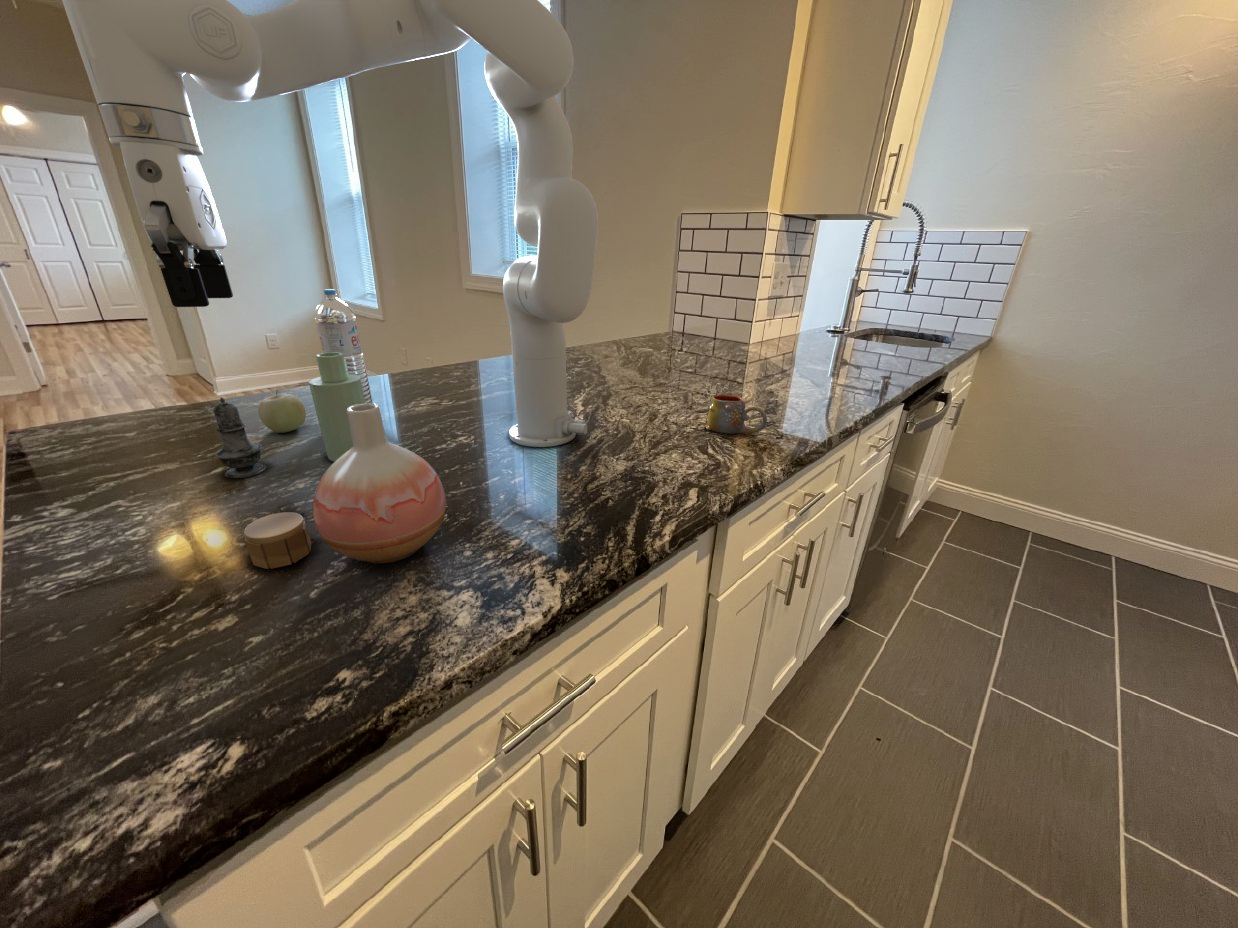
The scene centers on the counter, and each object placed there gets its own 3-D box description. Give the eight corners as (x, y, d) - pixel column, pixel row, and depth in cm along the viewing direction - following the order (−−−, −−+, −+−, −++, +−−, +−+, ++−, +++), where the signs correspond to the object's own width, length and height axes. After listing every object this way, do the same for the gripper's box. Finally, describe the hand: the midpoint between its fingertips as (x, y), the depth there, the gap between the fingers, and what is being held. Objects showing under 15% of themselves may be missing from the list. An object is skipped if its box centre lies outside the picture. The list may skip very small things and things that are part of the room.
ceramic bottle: (384, 448, 85) (365, 352, 78) (352, 464, 79) (328, 361, 72) (351, 443, 87) (329, 348, 80) (317, 458, 81) (291, 357, 74)
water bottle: (360, 425, 96) (331, 292, 85) (330, 422, 97) (298, 290, 86) (382, 414, 102) (358, 288, 91) (354, 411, 103) (326, 287, 93)
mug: (700, 429, 98) (703, 397, 95) (717, 420, 102) (720, 390, 100) (755, 444, 91) (760, 410, 88) (770, 434, 95) (775, 402, 93)
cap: (322, 545, 58) (314, 516, 56) (280, 572, 53) (270, 542, 51) (286, 536, 59) (277, 508, 58) (242, 562, 55) (230, 532, 53)
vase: (358, 602, 49) (317, 441, 42) (307, 549, 57) (265, 407, 50) (474, 545, 59) (457, 407, 51) (416, 507, 67) (394, 382, 59)
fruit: (316, 429, 93) (305, 389, 89) (272, 440, 88) (259, 397, 84) (301, 420, 97) (290, 381, 94) (258, 430, 92) (245, 389, 89)
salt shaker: (277, 466, 78) (255, 394, 73) (240, 481, 72) (214, 405, 67) (250, 461, 79) (227, 390, 74) (213, 475, 74) (185, 400, 69)
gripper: (167, 122, 46) (222, 310, 53) (221, 150, 60) (259, 295, 67) (60, 111, 43) (134, 311, 50) (144, 144, 57) (192, 295, 64)
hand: (206, 302), depth 59 cm, fingers open, 9 cm apart
